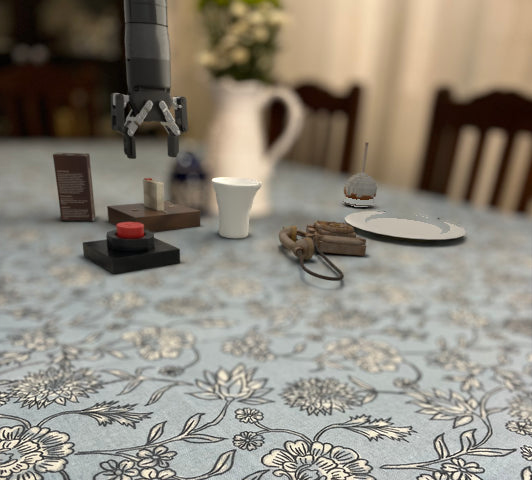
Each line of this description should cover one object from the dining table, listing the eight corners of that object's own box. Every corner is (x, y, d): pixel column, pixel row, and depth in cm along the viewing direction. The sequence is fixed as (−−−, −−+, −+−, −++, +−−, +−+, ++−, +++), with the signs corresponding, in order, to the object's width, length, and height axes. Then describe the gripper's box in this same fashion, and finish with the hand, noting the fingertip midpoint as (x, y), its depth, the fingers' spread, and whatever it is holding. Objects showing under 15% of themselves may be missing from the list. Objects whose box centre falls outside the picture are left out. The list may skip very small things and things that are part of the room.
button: (124, 241, 75) (124, 229, 75) (112, 235, 78) (111, 223, 77) (149, 237, 78) (148, 226, 77) (136, 232, 80) (135, 220, 80)
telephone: (293, 286, 72) (297, 256, 70) (271, 230, 101) (273, 208, 100) (397, 294, 74) (403, 265, 72) (345, 237, 103) (349, 215, 101)
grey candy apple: (365, 203, 136) (374, 141, 129) (379, 209, 129) (389, 144, 123) (338, 202, 134) (345, 140, 127) (350, 209, 127) (359, 143, 120)
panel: (136, 234, 93) (135, 216, 92) (108, 221, 100) (107, 205, 99) (200, 226, 102) (200, 209, 100) (170, 215, 109) (170, 199, 107)
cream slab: (164, 210, 98) (163, 181, 96) (157, 210, 98) (156, 182, 95) (150, 205, 102) (149, 177, 99) (144, 206, 101) (142, 178, 98)
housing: (113, 274, 73) (111, 246, 71) (83, 256, 79) (81, 230, 78) (180, 262, 80) (179, 236, 78) (147, 247, 86) (146, 223, 84)
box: (95, 216, 103) (90, 152, 98) (93, 221, 99) (86, 155, 94) (64, 216, 102) (56, 151, 97) (59, 221, 98) (51, 153, 93)
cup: (249, 243, 92) (251, 185, 88) (202, 236, 95) (202, 179, 90) (266, 233, 100) (269, 179, 95) (222, 226, 102) (223, 173, 98)
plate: (439, 254, 93) (441, 245, 92) (321, 228, 106) (322, 220, 105) (481, 233, 111) (483, 225, 111) (376, 213, 124) (377, 205, 124)
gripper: (172, 60, 95) (174, 154, 102) (99, 53, 86) (107, 156, 94) (195, 60, 90) (196, 159, 97) (120, 52, 81) (127, 161, 89)
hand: (152, 157), depth 96 cm, fingers open, 8 cm apart
